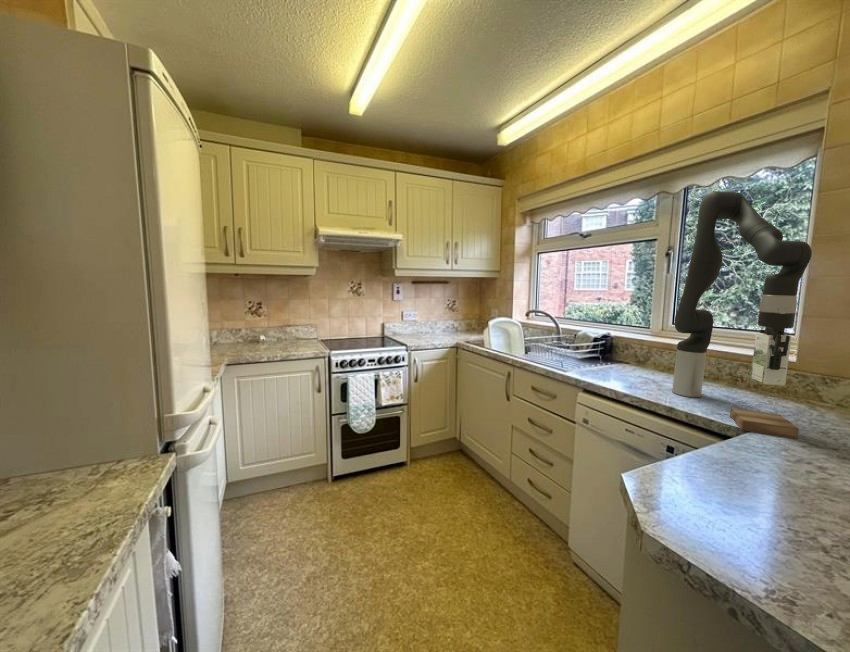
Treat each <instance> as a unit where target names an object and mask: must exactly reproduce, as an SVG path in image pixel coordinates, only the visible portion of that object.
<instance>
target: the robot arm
mask: <svg viewBox="0 0 850 652" xmlns="http://www.w3.org/2000/svg"><path fill="white" fill-rule="evenodd" d="M697 217H698V218H697V227H696V233H695V239H694V244H693V250H692V252H691V258H690V261H689V265H688V269H687V274H686V280H685V283H684V284H685V285H684V288H683V291H682V296H681V298H680V301H679V304H678V307H677V309H676V311H675V312H676V313H675V316H674V328H675V330H676V331H677V332H679V333H681V334H690V335H689V336H688V337H687V338H685V339H683V340H681V341H679V342H678V343H677V345H676V353H675V355H676V356H675V363H674V373H673V381H672V392H673V394H675V395H678V396H679V395H680V396H683V397H689V398H702V393H703V384H704V376H705V368H706V358H707V351H708V348H709V346H710V344H711V340H712V339H711V338H712V335H713V334H712V333H713V329H714V317H713V316H714V315H713V314H712V312H710V310H707V309H697V306H698V303H699V301H700V299H701V297H702V296H703V295H704V294H705V292H706V291H707V290H708V289H710V287H711V286H712V285H713V284H714V282H715V281H716V280H717V279H718V277H719V275H720V271H721V268H722V263H723V261H724V260H723V257H724V256H723V252H722V249H721V248H720V245H719V243H718V240H717V238H716V224H717V220H730V221H732V222H734V223H737V224H738V226H739V227H738V232H739V235H740V236H741V237H742V239H743V240H744V241H745V242H746V243H747V244H748V245H750V246H752V247H753V249H754V251H755V253H756V256H757V257H758V260H760V261H761V262H762V263H763V264H766V265H769V266H772V267H774V266H775V267H781V269H780V270H779V272H778V273H776V274H771V275H767V276H766V277H765V280H764V284H763V292H762V297H761V300H760V305H759V311H758V319H757V326H758V327H762V328H763V327H764V329H760V330H759V333H763V334H766V335H772V336H773V340H774V341H775V346H774V345H769V347H770V348H771V352H770V355H771V356H770V362H769V369H772V370H779V369H780V365H781V357H783V356H786V355H787V350H788V344H789V339H790V335H789V334H788V335H787V334H785V333H786V332H785V329H793V328H794V325H795V321H796V320H795V319H796V312H797V307H798V300H797V299H798V298H797V297H798V292H799V284H800V280H801V278H802V277H803V275H804V273H805V271H806V269H807V267H808V266H809V263H810V261H811V258H812V255H813V251H812V247H811V246H810V244H809V243H807V242H805V241H802V240H783V238H784V235H783V234H784V233H782V231H781V230H780V229H778V228H777V227H776V226H774V224H772V223H770V222H769V221H767V220H766V219H765V218H763V217H762V216H761V215H760V214H759V213H758V211H757V210H756V209H755V208H754V206H752V204H751V203H750V202H749V201H748V200H747V199H746V197H745V196H744V195H743V194H741V193H740V192H736V191H710V192H707V193H706V195H704V197H703V198H702V200H701V203H700V206H699V209H698V216H697ZM778 350H779V351H778Z"/></svg>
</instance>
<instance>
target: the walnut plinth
mask: <svg viewBox="0 0 850 652" xmlns="http://www.w3.org/2000/svg"><path fill="white" fill-rule="evenodd" d="M730 417H731V418H732V419H733V420H734V421H735V422H736V423H735V422H734V421H733V420H732V419H731V418H730ZM729 418H730V419H731V420H732V421H733V422H734V423H735V424H736V426H738V428H739V427H740V428H739V429H740V430H741V431H745V432H751V433H752V432H753V433H757V434H758V433H759V434H763V435H764V434H765V435H771V436H777V437H784V438H788V439H789V438H790V439H796V440H798V437H799V436H798V435H799V430H800V428H799V427H797V426H796V425H795V424H793V423H792V422H790V421H789V419H787V418H786V417H785V416H783V415H781V414H778V413H776V414H775V413H769V412H762V411H757V410H756V411H755V410H748V409H742V408H741V409H740V408H734V407H731V408H730V411H729Z"/></svg>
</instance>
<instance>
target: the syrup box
mask: <svg viewBox="0 0 850 652" xmlns="http://www.w3.org/2000/svg"><path fill="white" fill-rule="evenodd" d="M789 336H790V335H789ZM791 344H792V336H790V339H789V344H788V350H787V355H786V356H783V357H781V365H780V369H779V370H772V369H769V362H770V356H771V355H770V352H771V348H770V347H769V345H774V346H775V341H774V340H773V336H772V335H766V334H763V333H760V332H755V339H754V346H753V347H754V348H753V354H752V355H753V357H752V363H751V371H750V380H753V381H755V382H757V383H760V384H763V385H768V386H769V385H770V386H771V385H772V386H786V381H787V373H788V366H789V357H790V352H791V351H790V349H791ZM778 351H779V350H778Z"/></svg>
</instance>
